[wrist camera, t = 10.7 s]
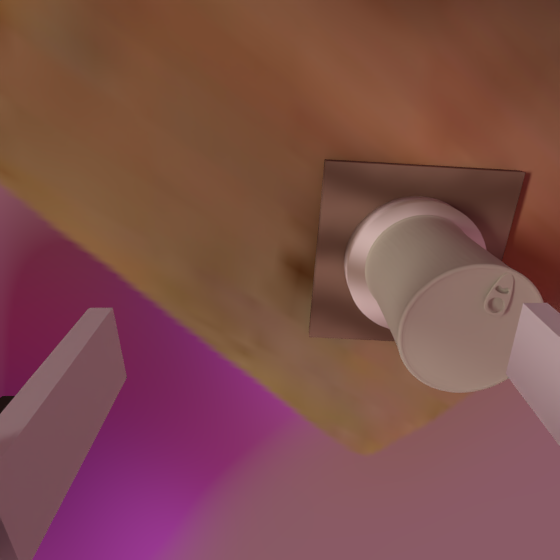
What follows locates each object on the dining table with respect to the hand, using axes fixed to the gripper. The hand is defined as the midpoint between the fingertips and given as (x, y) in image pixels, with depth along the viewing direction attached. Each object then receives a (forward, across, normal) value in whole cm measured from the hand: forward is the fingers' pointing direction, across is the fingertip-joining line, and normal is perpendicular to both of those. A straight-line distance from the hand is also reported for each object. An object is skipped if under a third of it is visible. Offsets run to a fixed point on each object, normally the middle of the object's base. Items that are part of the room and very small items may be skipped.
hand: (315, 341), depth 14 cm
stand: (+26, +10, -8) cm, 29 cm away
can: (+23, +10, -7) cm, 26 cm away
